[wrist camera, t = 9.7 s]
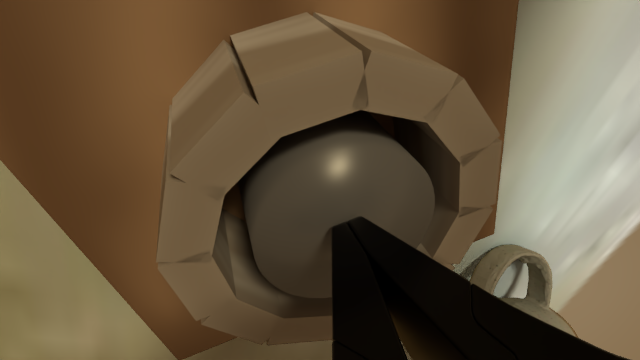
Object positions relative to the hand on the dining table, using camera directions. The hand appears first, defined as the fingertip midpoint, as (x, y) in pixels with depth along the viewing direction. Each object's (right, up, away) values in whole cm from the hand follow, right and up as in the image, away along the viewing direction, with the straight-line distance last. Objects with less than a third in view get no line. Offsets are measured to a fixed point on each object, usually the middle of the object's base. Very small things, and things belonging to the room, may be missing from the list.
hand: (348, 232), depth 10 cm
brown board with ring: (-2, +3, +5) cm, 6 cm away
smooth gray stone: (-1, +2, +3) cm, 4 cm away
